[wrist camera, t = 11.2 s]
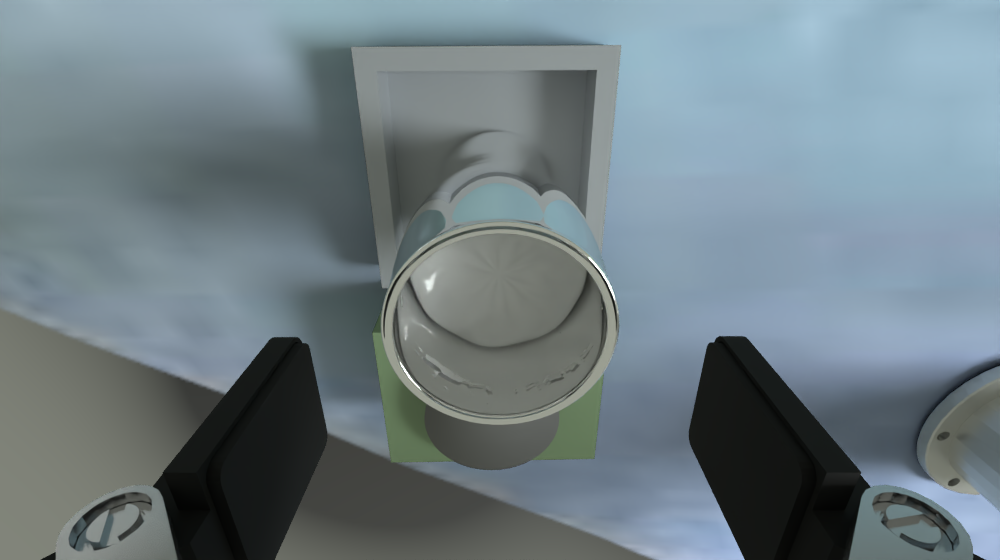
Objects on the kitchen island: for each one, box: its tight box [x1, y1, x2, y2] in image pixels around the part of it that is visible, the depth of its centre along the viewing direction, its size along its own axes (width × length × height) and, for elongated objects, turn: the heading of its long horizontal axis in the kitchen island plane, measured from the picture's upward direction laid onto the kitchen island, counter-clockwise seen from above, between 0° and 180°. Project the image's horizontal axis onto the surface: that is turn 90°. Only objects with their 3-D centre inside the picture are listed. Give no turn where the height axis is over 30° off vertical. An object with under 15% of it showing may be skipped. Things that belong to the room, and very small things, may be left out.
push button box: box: [351, 45, 621, 470], centre depth 25 cm, size 12×22×8 cm, turn 0°
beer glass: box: [381, 131, 619, 425], centre depth 20 cm, size 7×7×15 cm
